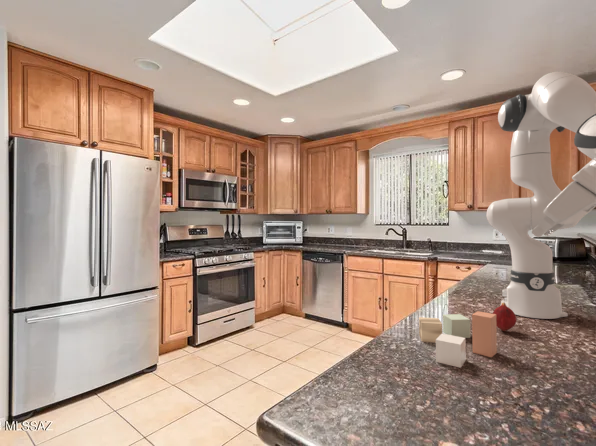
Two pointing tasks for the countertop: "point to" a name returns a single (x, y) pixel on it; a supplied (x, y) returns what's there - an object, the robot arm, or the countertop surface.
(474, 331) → the terracotta post
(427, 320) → the maple block
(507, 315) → the onion
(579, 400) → the countertop surface
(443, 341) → the ceramic block
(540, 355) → the countertop surface
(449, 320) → the sage block
